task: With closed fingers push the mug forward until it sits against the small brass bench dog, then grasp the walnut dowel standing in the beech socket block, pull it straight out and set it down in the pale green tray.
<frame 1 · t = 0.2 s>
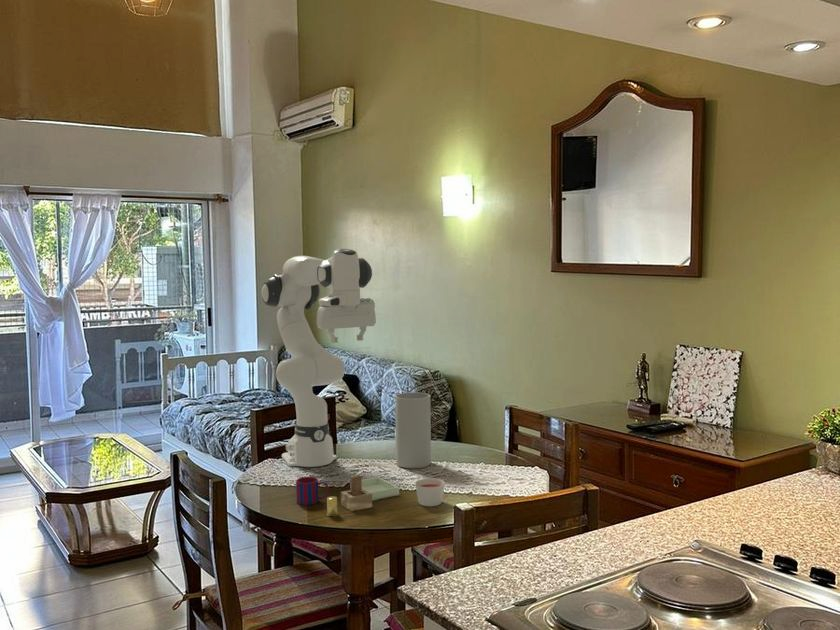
hand: (347, 341, 251), 47 cm above the table, fingers open, 8 cm apart
candle: (430, 503, 235), on the table
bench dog: (332, 514, 225), on the table
cylinder vase: (413, 464, 277), on the table
dowel: (356, 506, 232), resting in socket block
socket block: (356, 505, 232), on the table
mug: (312, 502, 237), on the table
tray: (374, 492, 245), on the table
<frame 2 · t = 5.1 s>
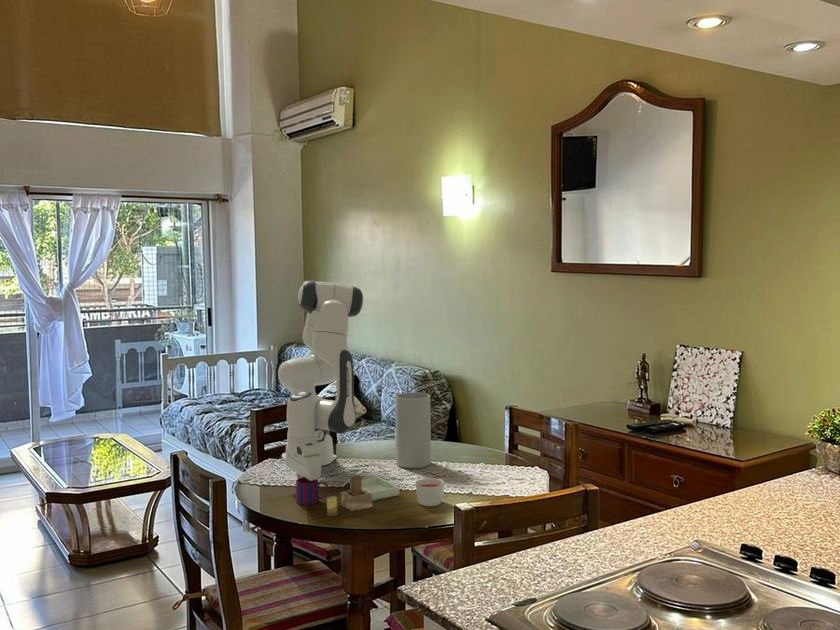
hand: (302, 487, 242), 3 cm above the table, fingers closed
mug: (312, 502, 237), on the table, touching gripper
everything else where it was.
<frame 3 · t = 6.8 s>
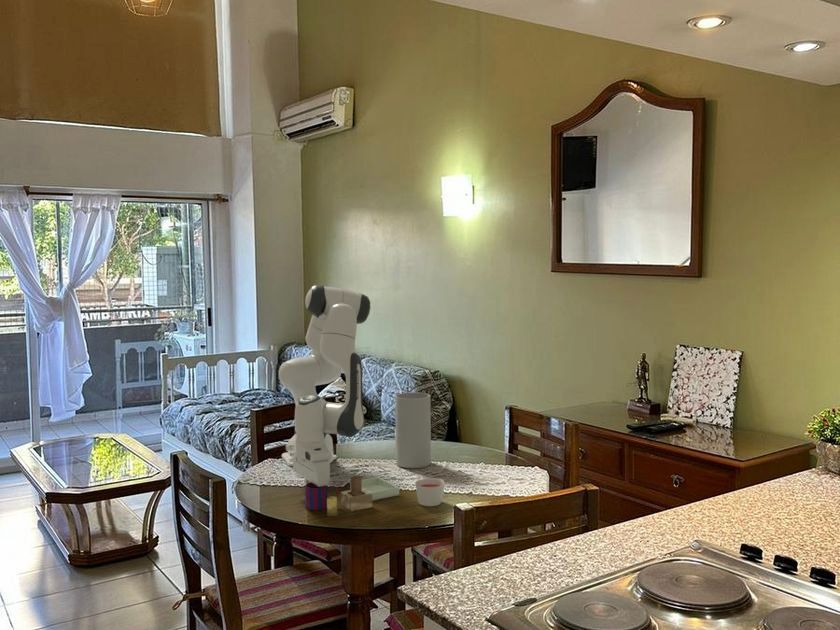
hand: (311, 493, 237), 3 cm above the table, fingers closed
mug: (321, 507, 232), on the table, touching gripper
everything else where it was.
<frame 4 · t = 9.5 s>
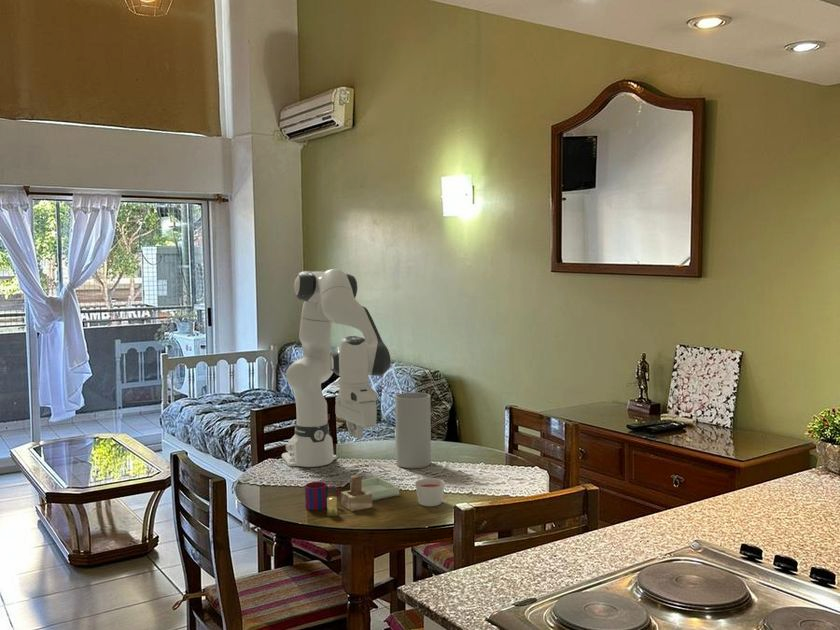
hand: (355, 436, 231), 21 cm above the table, fingers open, 3 cm apart
mug: (321, 507, 232), on the table
everything else where it was.
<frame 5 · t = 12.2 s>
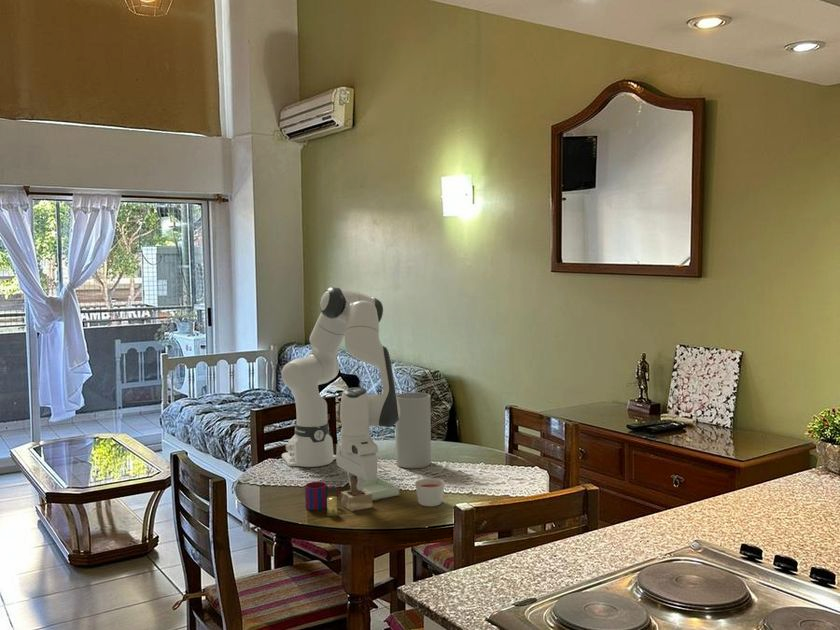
hand: (356, 487, 232), 6 cm above the table, fingers closed on dowel, 3 cm apart
dowel: (356, 505, 232), resting in socket block, touching gripper
everything else where it was.
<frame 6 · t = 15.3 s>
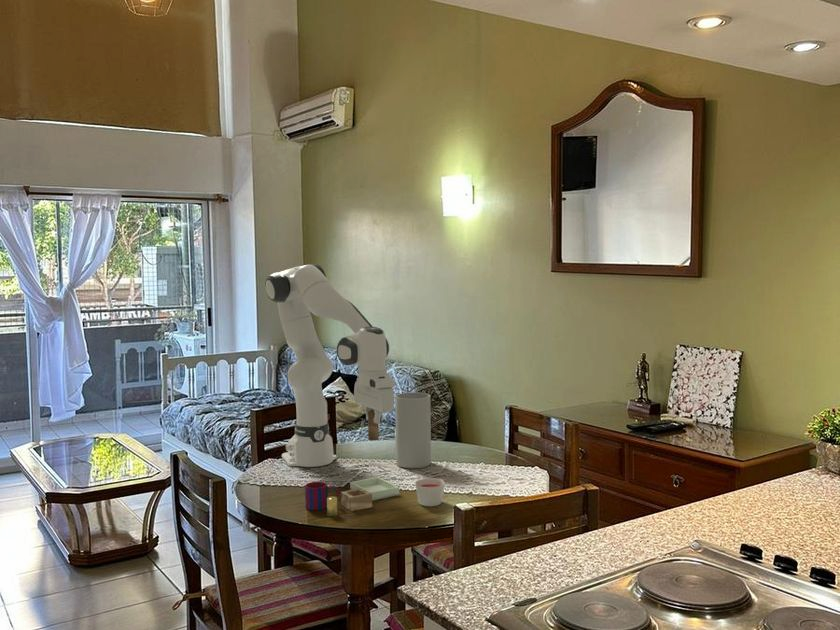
hand: (373, 421, 243), 23 cm above the table, fingers closed on dowel, 3 cm apart
dowel: (373, 439, 244), point 17 cm above the table, touching gripper
everything else where it was.
when the fingers open (7 cm above the table, at t = 18.5 s): dowel drops 1 cm, resting on tray.
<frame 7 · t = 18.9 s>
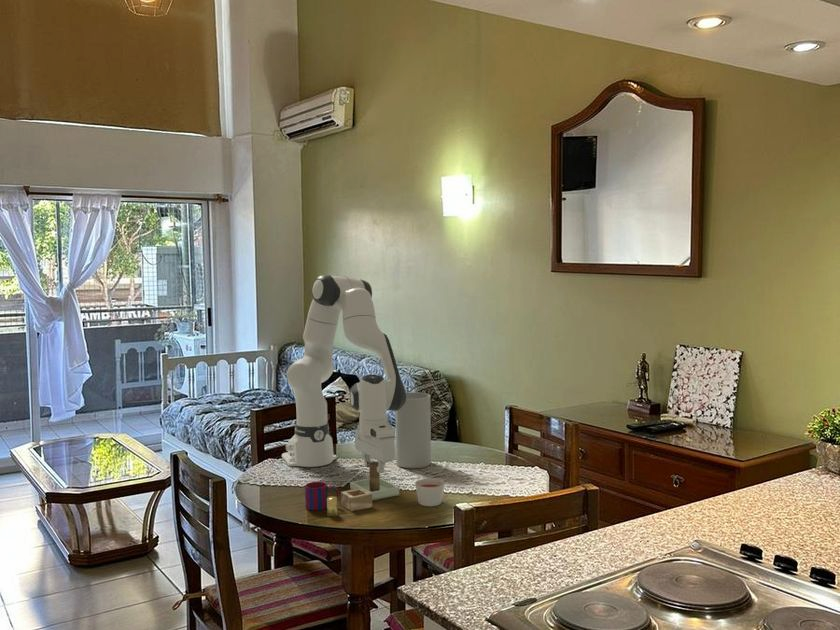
hand: (374, 469, 245), 7 cm above the table, fingers open, 7 cm apart
dowel: (374, 490, 245), point 1 cm above the table, touching tray
everything else where it was.
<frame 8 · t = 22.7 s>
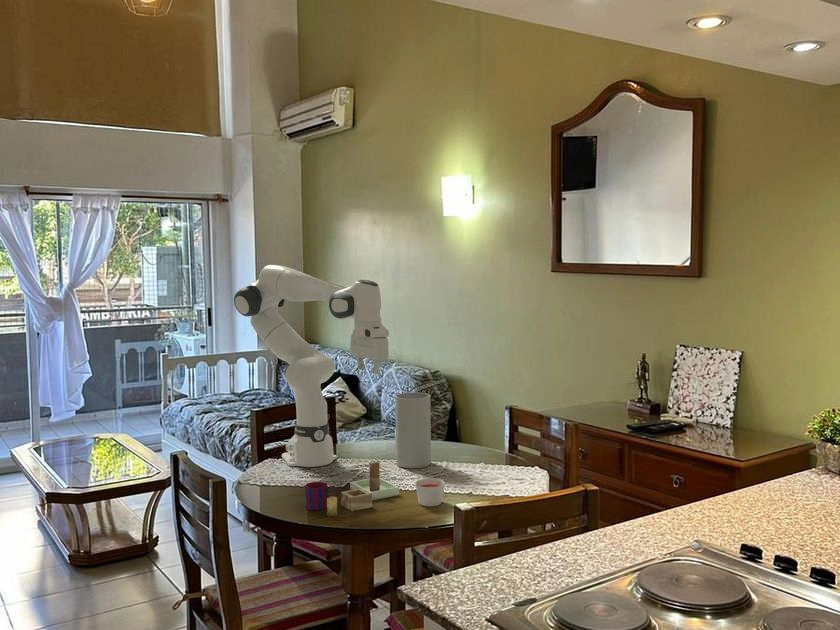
hand: (368, 371, 253), 37 cm above the table, fingers open, 8 cm apart
nothing on the table moved.
at the end: mug inside the target area (1.4 cm from its centre), on the table; dowel inside the target area on the tray (0.1 cm from its centre), point 0.6 cm above the tray's base; the gripper is holding nothing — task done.
